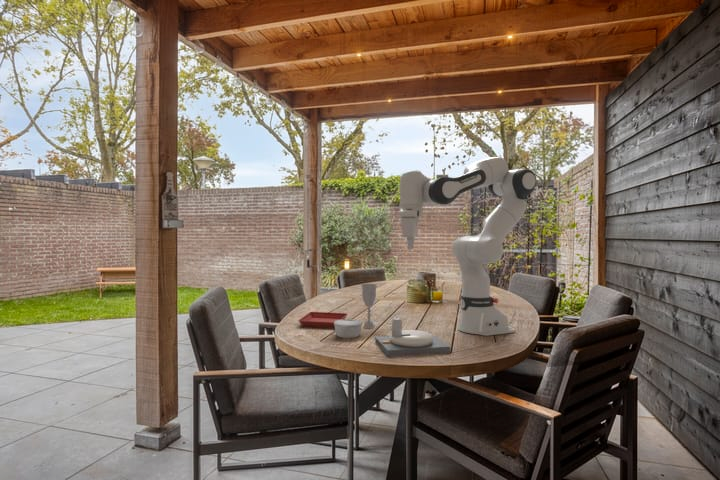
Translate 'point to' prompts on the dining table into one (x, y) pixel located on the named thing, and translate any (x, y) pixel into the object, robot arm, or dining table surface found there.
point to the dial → (409, 336)
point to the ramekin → (348, 328)
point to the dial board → (399, 350)
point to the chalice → (369, 301)
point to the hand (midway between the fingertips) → (410, 249)
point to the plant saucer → (321, 319)
